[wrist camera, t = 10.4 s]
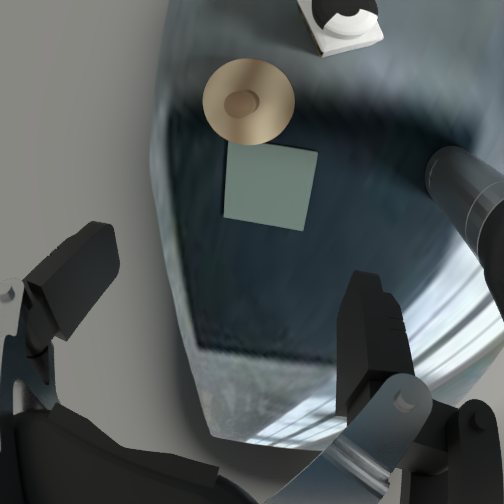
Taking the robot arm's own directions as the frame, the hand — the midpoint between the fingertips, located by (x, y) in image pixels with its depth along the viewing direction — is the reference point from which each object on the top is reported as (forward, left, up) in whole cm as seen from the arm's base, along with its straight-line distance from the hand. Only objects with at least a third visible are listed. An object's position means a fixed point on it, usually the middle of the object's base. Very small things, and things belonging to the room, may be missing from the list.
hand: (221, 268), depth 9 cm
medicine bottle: (-4, -14, -32) cm, 35 cm away
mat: (+2, +10, -32) cm, 34 cm away
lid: (+5, -2, -28) cm, 28 cm away
